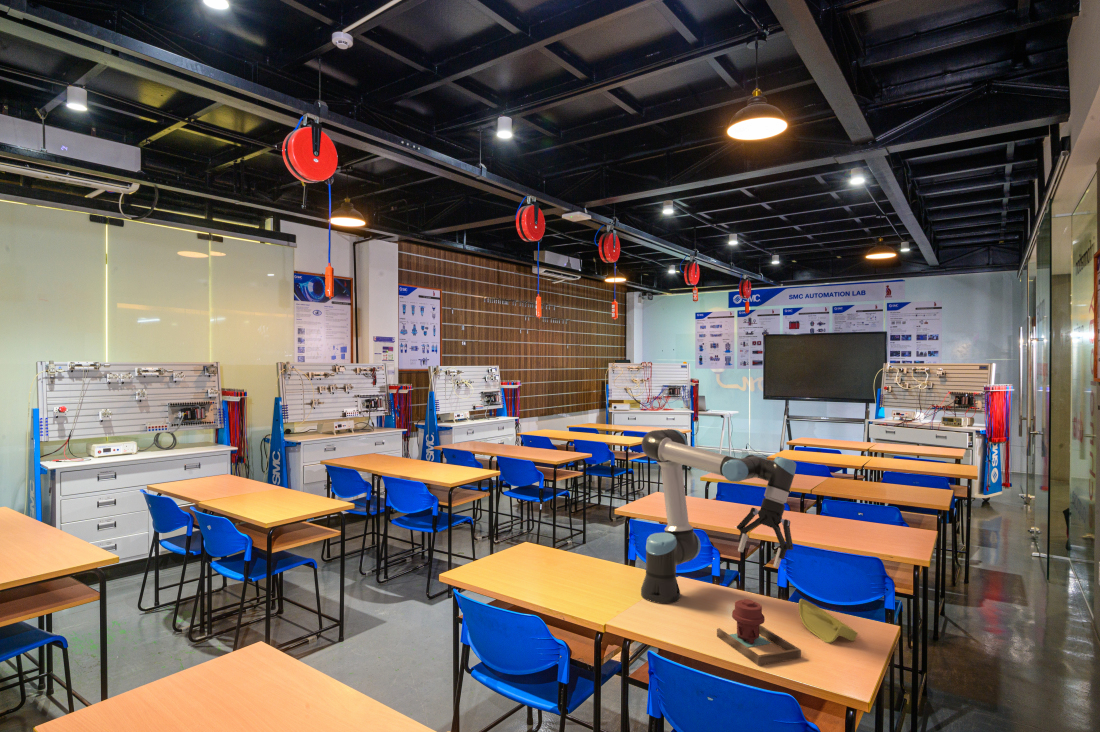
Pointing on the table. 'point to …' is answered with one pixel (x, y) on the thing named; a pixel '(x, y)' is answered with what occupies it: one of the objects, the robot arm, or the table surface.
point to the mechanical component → (748, 619)
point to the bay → (764, 659)
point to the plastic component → (823, 623)
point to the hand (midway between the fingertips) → (757, 559)
